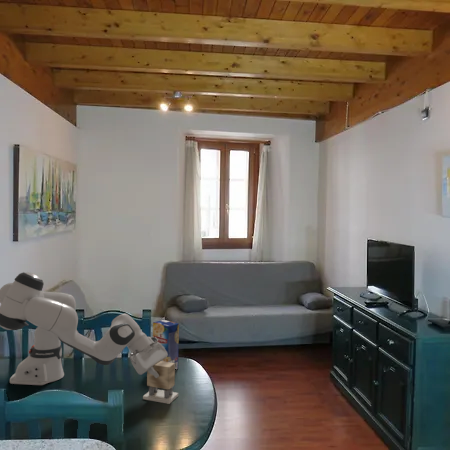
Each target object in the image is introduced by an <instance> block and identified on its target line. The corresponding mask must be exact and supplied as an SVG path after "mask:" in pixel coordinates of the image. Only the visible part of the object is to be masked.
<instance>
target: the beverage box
mask: <svg viewBox="0 0 450 450" xmlns="http://www.w3.org/2000/svg"><path fill="white" fill-rule="evenodd" d="M179 329H180V323H177V322H174V321H171V320H170V321H169V320H166V319H161V320H157V321H153V322H152V337H156V338H157V339H158V341H157V342H159V343H160V344H161V345H162V346H163V347H164V349H165V350H166V351H167V354H168V356H167V357H166V358H165V359H164V360H163V361H164V362H170V363H175V369H176V370H177V369H179V346H180V345H179V341H180V340H179V338H180V337H179V336H180V335H179V334H180V333H179V331H180V330H179Z"/></svg>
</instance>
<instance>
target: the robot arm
mask: <svg viewBox="0 0 450 450" xmlns="http://www.w3.org/2000/svg"><path fill="white" fill-rule="evenodd" d="M43 289H44V281H43V279H41V277H40V276H39V275H38V274H35V273H32V272H24V271H23V272H21V273H19V274H18V275H17V276H16V277H15V278H14V281H13V282H8V283H6V284H4V285H3V286H1V287H0V328H2V329H4V330H7V331H18V330H21V329H23V328H24V327H28V326H29V323H31V324H32V325H34V326H36V328H35V330H34V333H33V334H34V335H33V336H34V337H33V343H34V344H33V345H31V348H30V349H29V350H28V354H29V355H28V356H27V357H25V359H23V360H22V361H20V363H18V365H17V367H16V370H15V373H14V374H12V376H11V377H10V378H9V383H10V384H12V385H13V384H14V385H29V386H30V385H32V386H44V385H46V384H48V383H53V382H56V381H58V380H61V379H62V378H64V376H65V372H64V368H63V365H62V356H63V354H62V353H63V348H62V344H61V343H63V344H64V345H66V346H68V347H70V348H71V349H73V350H76V351H77V352H80V353H81V354H84V355H85V356H88V357H89V358H91V359H92V360H93V361H95V362H96V363H98V364H99V365H103V366H108V365H111V364H113V363H114V362H115V360H116V359H117V357H118V356H119V355H120V354H121V353H122V352H123V350H124V349H126V347H127V349H128V350H129V352H130V354H129V360H130V363H131V365H132V366H133V368H134V370H135V371H136V373H137V374H138V375H140V376H141V375H144V374H145V373H147V371H148V372H149V373H150V374H152V375H154V377H155V378H158V377H159V376H160V373H159V372H156V371H155V370H154V368H153V366H154V365H155V364H156V363H158V362H159V361H163V360H164V359H165V358H166V357H167V356H168V354H167V351H166V350H165V349H164V347H163V346H162V345H161V344H160V343H159V342H157V341H158V339H157V338H156V337H153V336H147V334H146V333H145V332H143V331H142V329H141V327H140V325H139V324H138V323H137V322H136V321H135V320H134V319H133V317H132V316H130V315H129V314H128V313H122V314H119V315H117V316H116V317H115V318H113V319H112V321H111V325H110V327H109V329H108V330H107V332H105V333H104V335H103V336H102V338H100V340H96V341H94V340H92V339H90V338H89V337H87V336H85V335H83V334H81V333H79V331H78V330H77V328H78V323H79V316H78V313H77V311H76V307H77V302H76V298H75V297H74V295H72V294H70V293H66V292H60V291H59V292H58V291H57V292H55V291H43ZM28 322H29V323H28ZM163 362H164V361H163Z"/></svg>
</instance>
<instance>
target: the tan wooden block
mask: <svg viewBox="0 0 450 450" xmlns="http://www.w3.org/2000/svg"><path fill="white" fill-rule="evenodd" d="M153 368H154V370H155V371H156V372H159V373H160V376H159V377H158V378H155V377H154V375H152V374H150V373H149V372H148V371H146V373H147V374H146V377H147V378H146V386H147V387H151V386H152V387H157V388H158V389H162V390H165V389H170V388H171V387H174V386H176V384H175V383H176V382H175V380H176V378H175V377H176V370H175V363H170V362H163V361H159V362H158V363H156V364H155V365H154V366H153Z"/></svg>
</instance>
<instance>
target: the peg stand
mask: <svg viewBox="0 0 450 450" xmlns="http://www.w3.org/2000/svg"><path fill="white" fill-rule="evenodd" d="M173 387H174V386H173ZM173 387H171V388H170V389H160V388H157V387H152V386H148V392H146V393H145V394H144V395H143V396H142V400H146V401H151V402H158V403H162V404H167V405H170V404H171V403H173V401H174V400H175V399H177V398H178V397H179V392H174V390H173V389H174V388H173Z"/></svg>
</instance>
